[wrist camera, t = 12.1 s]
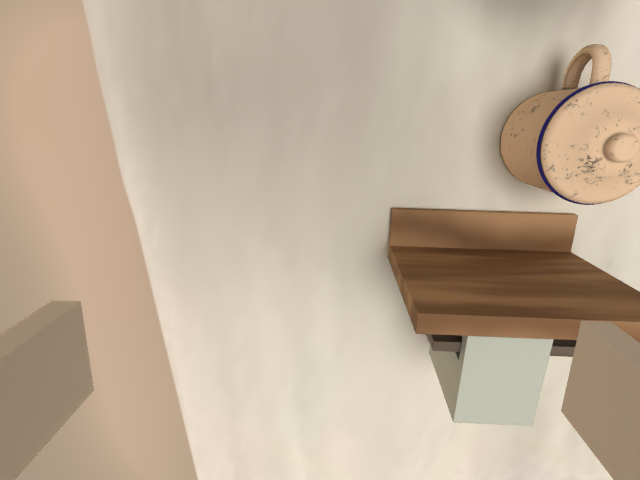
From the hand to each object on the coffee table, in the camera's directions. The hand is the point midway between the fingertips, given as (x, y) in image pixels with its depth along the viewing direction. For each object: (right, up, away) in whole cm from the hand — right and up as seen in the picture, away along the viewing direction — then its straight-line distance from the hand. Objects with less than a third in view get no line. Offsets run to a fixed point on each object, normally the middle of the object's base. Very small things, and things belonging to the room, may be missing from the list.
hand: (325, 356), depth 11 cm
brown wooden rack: (+16, +2, +32) cm, 36 cm away
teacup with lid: (+21, +14, +28) cm, 38 cm away
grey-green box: (+14, -6, +29) cm, 32 cm away
